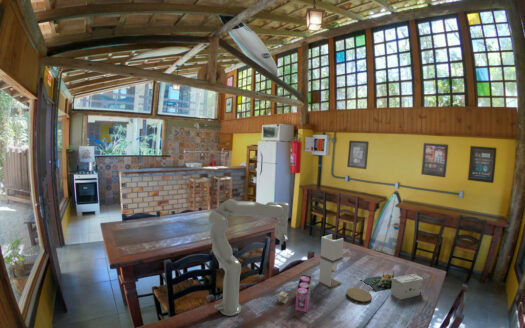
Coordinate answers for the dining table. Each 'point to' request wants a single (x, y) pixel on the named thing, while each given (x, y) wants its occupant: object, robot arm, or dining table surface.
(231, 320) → the dining table surface
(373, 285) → the plated dish
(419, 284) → the concrete block
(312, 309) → the dining table surface
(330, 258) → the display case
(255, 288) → the dining table surface
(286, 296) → the ash cube
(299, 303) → the gum box
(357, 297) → the tan round disc
